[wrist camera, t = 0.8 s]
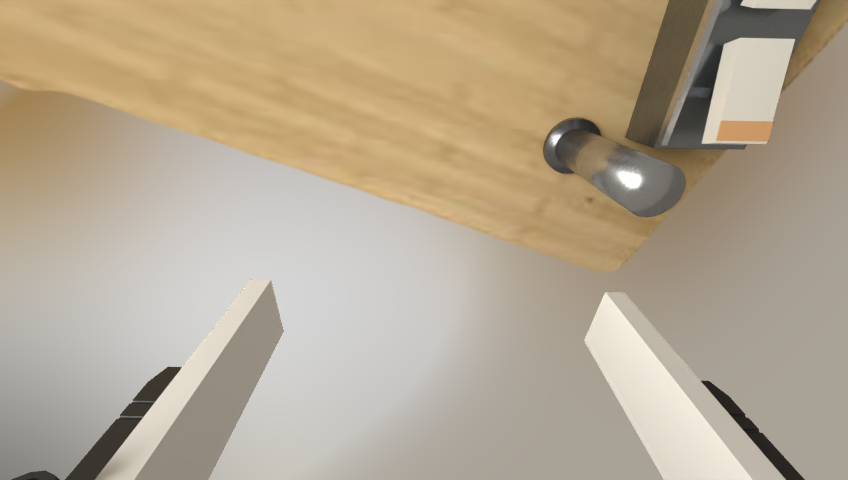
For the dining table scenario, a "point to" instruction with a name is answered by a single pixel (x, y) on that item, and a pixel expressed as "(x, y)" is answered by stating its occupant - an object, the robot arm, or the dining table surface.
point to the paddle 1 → (779, 4)
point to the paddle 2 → (747, 91)
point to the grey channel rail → (699, 66)
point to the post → (614, 168)
